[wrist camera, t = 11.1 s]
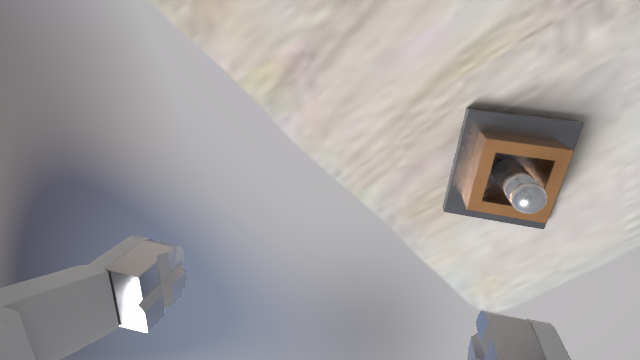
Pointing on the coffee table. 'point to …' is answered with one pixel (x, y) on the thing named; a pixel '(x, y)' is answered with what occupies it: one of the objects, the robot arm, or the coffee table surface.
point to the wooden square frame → (549, 153)
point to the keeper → (506, 162)
